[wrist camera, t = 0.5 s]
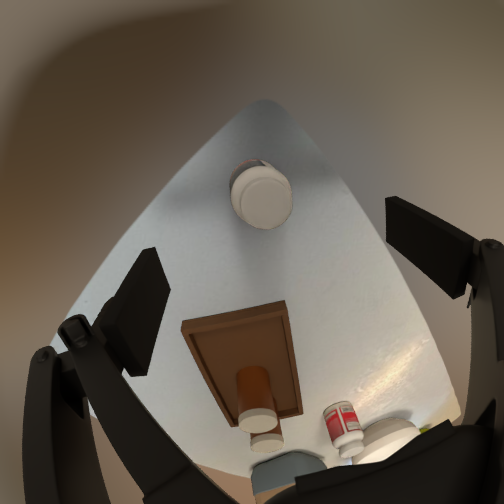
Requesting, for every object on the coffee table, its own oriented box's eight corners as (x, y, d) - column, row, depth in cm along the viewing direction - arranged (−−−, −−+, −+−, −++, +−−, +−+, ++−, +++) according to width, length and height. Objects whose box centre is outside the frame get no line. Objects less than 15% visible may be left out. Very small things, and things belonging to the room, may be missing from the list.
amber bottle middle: (231, 368, 39) (234, 419, 31) (266, 362, 39) (274, 412, 31) (239, 388, 42) (243, 435, 33) (271, 382, 42) (280, 429, 33)
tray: (182, 320, 36) (180, 330, 34) (284, 300, 35) (287, 309, 34) (230, 419, 46) (231, 427, 45) (301, 405, 46) (303, 414, 44)
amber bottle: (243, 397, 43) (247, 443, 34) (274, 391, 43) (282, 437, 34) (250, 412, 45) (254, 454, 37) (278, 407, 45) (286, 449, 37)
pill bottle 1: (222, 196, 29) (220, 223, 21) (241, 151, 27) (246, 159, 19) (267, 214, 31) (282, 246, 22) (287, 170, 29) (311, 187, 21)
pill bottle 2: (324, 420, 50) (337, 462, 40) (321, 407, 47) (335, 453, 37) (352, 410, 49) (368, 451, 39) (350, 396, 47) (368, 441, 37)
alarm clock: (296, 445, 54) (313, 527, 33) (328, 456, 60) (346, 523, 39) (243, 465, 58) (251, 539, 37) (280, 475, 64) (291, 537, 43)
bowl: (351, 452, 61) (359, 475, 53) (337, 433, 54) (346, 462, 46) (410, 423, 59) (421, 445, 51) (409, 398, 51) (423, 424, 43)
